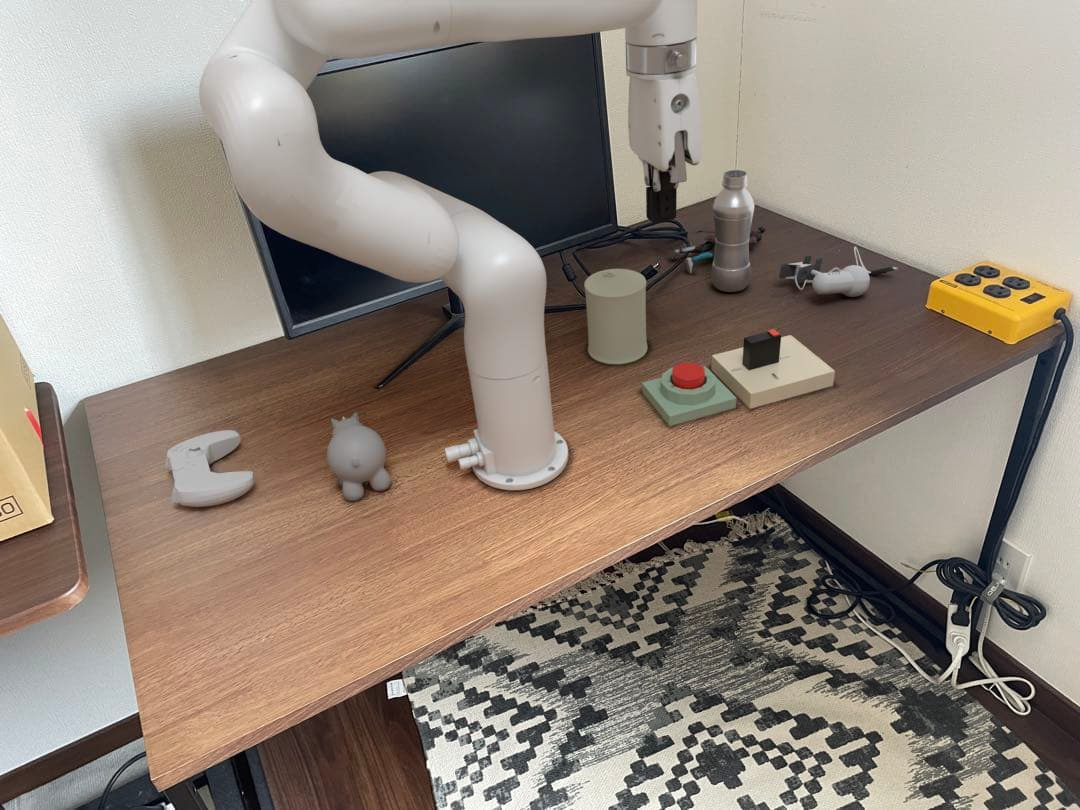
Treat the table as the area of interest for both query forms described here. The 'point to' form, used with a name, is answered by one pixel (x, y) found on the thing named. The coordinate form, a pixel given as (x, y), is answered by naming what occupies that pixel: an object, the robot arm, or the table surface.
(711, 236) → the action figure
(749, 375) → the panel
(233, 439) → the game controller
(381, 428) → the table surface
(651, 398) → the power switch
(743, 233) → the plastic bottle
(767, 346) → the knob
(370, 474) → the chubby cartoon animal
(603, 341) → the can
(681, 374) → the power button
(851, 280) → the clip-on lamp
